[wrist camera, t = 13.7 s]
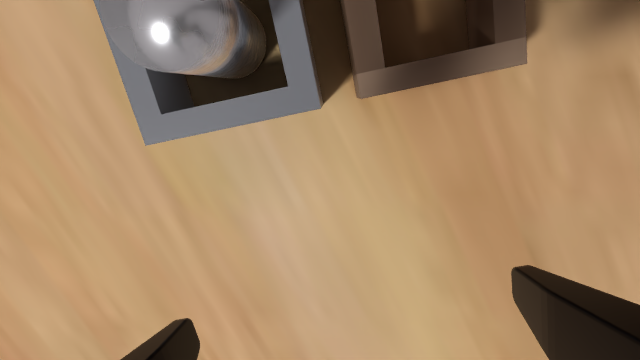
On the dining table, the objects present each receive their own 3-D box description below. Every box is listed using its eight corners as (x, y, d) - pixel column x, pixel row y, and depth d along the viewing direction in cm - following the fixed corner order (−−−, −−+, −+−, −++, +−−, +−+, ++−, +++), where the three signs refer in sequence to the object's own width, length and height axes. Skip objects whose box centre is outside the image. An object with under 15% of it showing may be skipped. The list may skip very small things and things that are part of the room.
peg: (256, -5, 18) (196, -77, 10) (273, 70, 19) (232, 58, 11) (188, 12, 18) (79, -44, 10) (209, 85, 19) (124, 83, 11)
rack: (274, -139, 16) (255, -211, 12) (323, 104, 19) (321, 108, 15) (109, -91, 17) (42, -144, 13) (181, 134, 20) (145, 145, 16)
